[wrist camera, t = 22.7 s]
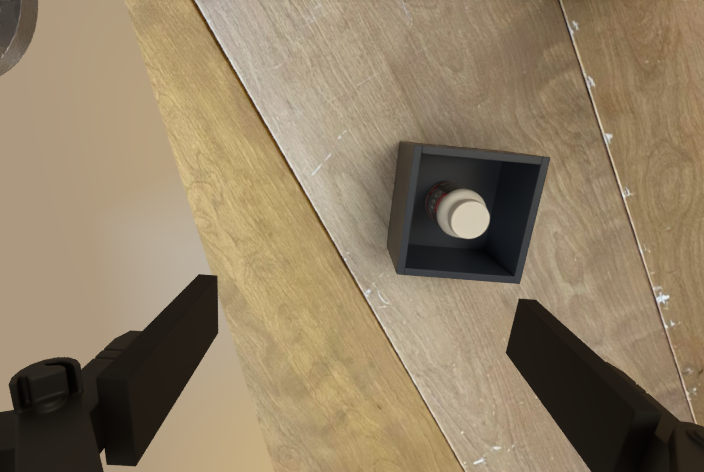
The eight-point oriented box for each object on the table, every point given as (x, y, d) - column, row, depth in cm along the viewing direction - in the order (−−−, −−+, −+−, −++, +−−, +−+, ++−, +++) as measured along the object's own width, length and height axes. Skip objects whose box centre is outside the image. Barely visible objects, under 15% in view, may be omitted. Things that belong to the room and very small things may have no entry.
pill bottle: (422, 182, 45) (443, 196, 36) (465, 178, 45) (497, 191, 36) (424, 224, 47) (445, 248, 37) (466, 220, 47) (497, 243, 37)
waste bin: (386, 246, 48) (396, 274, 39) (399, 141, 44) (414, 144, 35) (486, 254, 49) (520, 284, 39) (507, 151, 45) (550, 157, 36)
